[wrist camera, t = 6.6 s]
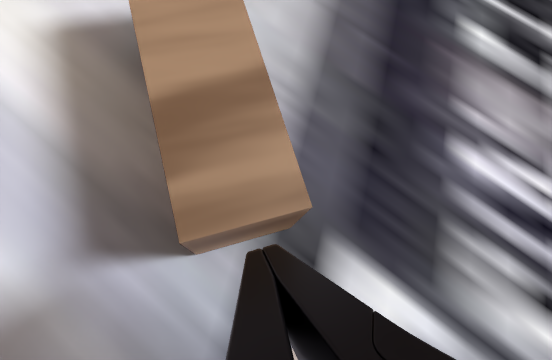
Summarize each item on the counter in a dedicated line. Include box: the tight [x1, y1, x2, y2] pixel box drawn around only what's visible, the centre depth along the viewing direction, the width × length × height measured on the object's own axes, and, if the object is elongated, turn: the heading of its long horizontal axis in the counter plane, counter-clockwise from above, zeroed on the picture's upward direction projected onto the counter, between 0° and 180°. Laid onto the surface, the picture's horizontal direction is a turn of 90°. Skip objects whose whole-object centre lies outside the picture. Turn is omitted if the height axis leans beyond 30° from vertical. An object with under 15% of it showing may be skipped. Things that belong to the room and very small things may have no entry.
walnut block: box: [129, 0, 312, 255], centre depth 15 cm, size 5×5×14 cm
